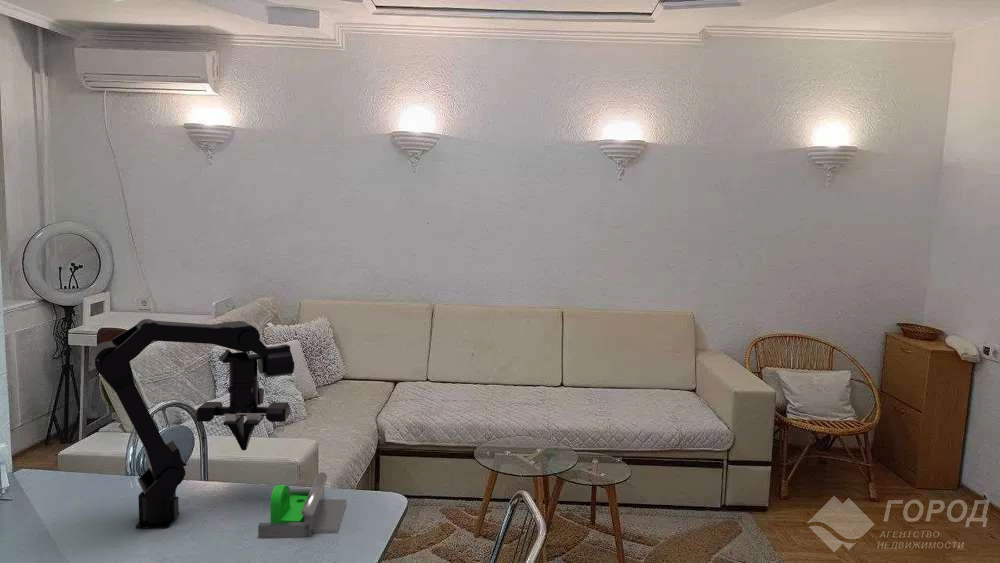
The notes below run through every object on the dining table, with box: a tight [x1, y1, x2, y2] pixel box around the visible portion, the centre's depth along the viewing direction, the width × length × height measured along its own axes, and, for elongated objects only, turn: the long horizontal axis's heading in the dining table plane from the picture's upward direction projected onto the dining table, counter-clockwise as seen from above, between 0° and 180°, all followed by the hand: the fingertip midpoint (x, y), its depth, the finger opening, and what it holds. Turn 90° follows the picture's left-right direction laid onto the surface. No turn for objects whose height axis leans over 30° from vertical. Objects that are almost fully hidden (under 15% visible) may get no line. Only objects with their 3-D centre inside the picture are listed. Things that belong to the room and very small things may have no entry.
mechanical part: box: [270, 484, 308, 523], centre depth 148 cm, size 12×6×8 cm, turn 177°
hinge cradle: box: [257, 472, 347, 539], centre depth 147 cm, size 15×17×6 cm
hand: (244, 449), depth 152 cm, fingers closed
